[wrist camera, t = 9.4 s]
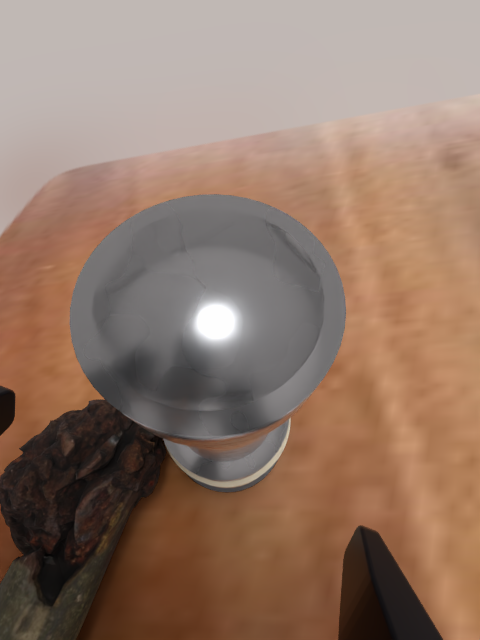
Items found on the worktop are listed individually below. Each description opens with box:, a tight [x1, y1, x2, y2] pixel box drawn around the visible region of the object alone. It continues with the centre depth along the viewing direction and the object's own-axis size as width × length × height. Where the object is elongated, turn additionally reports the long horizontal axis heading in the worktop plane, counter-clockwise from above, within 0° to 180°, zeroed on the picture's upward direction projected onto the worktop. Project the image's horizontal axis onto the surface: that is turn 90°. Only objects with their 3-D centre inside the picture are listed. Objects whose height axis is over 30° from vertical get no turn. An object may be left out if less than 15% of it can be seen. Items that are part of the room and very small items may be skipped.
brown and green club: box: [0, 400, 166, 640], centre depth 17 cm, size 18×7×6 cm, turn 159°
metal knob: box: [70, 194, 346, 482], centre depth 12 cm, size 6×6×12 cm
